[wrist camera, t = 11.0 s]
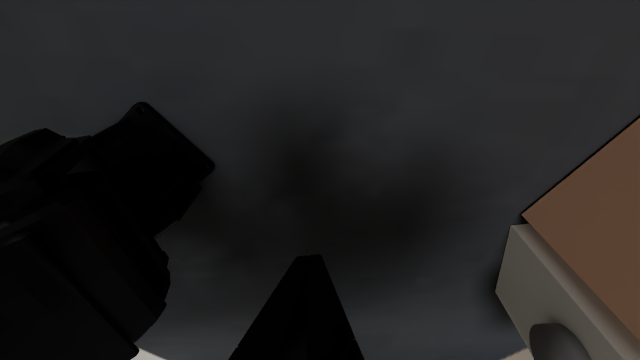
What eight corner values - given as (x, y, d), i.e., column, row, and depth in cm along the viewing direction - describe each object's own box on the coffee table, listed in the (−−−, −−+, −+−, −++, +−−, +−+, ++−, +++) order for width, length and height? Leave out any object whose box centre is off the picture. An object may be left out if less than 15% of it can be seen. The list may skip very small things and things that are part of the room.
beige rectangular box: (482, 292, 28) (600, 510, 16) (495, 226, 24) (671, 457, 12) (593, 284, 27) (811, 510, 15) (629, 213, 23) (977, 451, 11)
